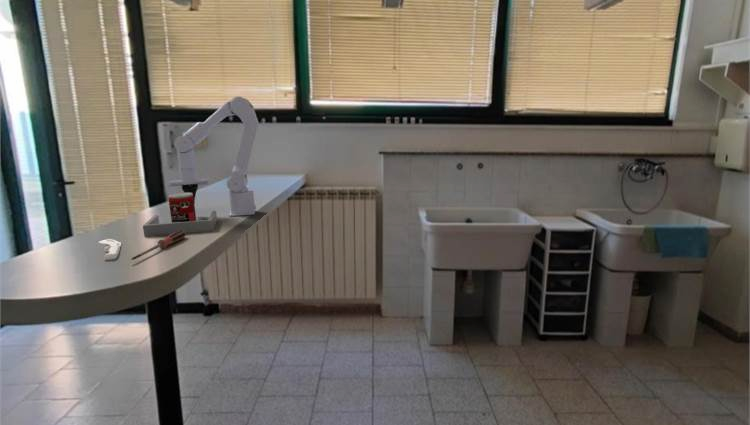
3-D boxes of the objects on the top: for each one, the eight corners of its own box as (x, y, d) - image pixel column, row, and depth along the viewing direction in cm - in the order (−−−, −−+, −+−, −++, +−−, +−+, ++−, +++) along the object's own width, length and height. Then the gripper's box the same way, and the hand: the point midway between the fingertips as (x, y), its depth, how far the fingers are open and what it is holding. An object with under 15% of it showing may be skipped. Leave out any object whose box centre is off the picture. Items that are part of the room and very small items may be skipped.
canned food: (167, 227, 140) (162, 196, 137) (182, 222, 147) (178, 192, 145) (187, 228, 138) (183, 196, 136) (201, 222, 146) (197, 192, 144)
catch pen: (217, 220, 149) (216, 210, 148) (212, 230, 135) (211, 220, 134) (155, 224, 144) (154, 215, 143) (144, 236, 130) (142, 225, 129)
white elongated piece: (96, 235, 130) (124, 231, 134) (97, 240, 131) (125, 236, 134) (81, 258, 104) (116, 253, 108) (82, 265, 105) (117, 259, 108)
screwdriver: (137, 265, 104) (135, 254, 103) (126, 265, 104) (124, 254, 103) (189, 237, 128) (187, 228, 127) (180, 237, 128) (178, 228, 128)
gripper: (209, 166, 158) (213, 200, 161) (168, 168, 154) (173, 203, 157) (207, 168, 151) (211, 204, 154) (164, 170, 148) (170, 207, 151)
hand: (192, 204), depth 155 cm, fingers closed
